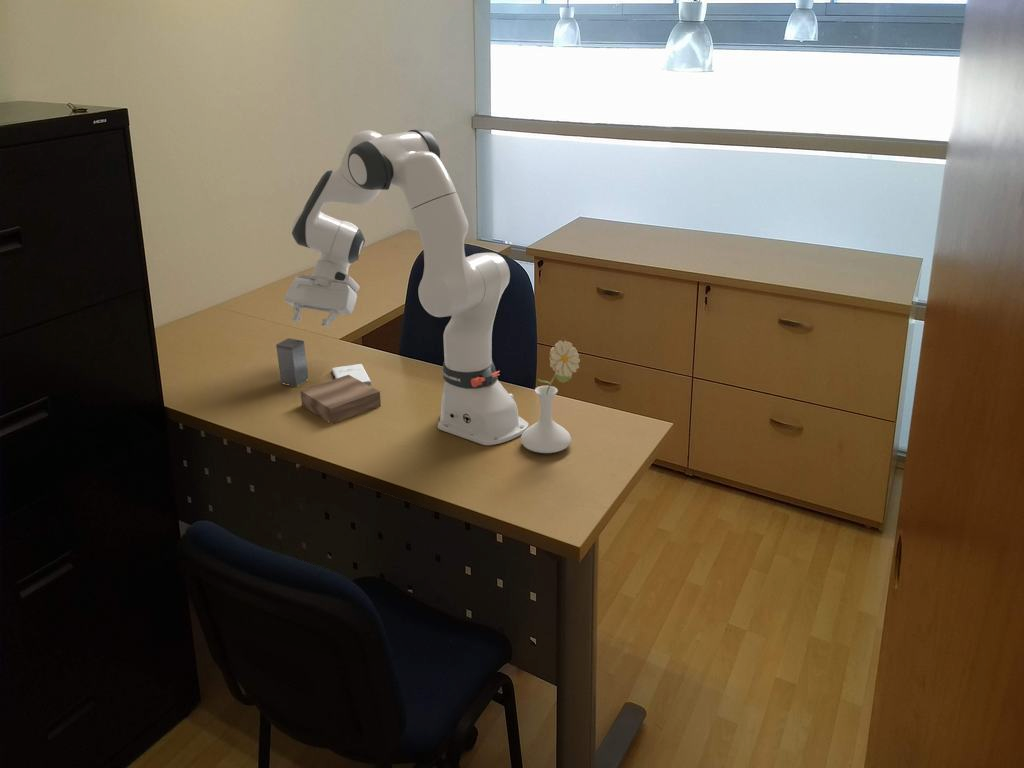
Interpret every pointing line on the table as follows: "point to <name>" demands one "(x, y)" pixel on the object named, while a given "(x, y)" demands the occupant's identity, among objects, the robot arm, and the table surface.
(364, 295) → the table surface
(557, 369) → the flower in vase
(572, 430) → the table surface
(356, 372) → the external hard drive
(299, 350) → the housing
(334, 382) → the stand
